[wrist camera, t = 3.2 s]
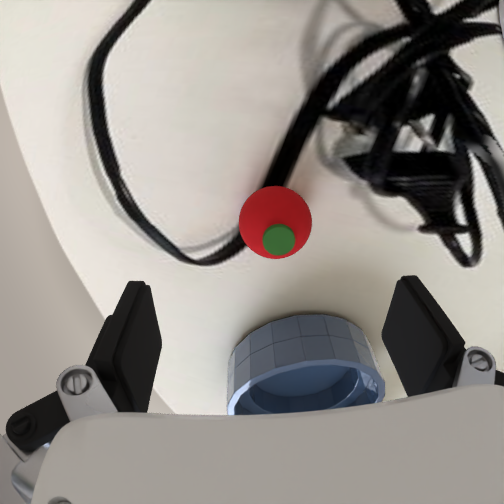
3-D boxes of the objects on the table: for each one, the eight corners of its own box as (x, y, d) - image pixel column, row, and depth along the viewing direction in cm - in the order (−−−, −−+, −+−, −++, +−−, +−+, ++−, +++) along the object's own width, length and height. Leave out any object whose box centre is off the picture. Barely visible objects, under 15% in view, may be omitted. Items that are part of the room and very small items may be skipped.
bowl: (225, 310, 23) (222, 362, 19) (383, 306, 23) (406, 351, 19) (232, 403, 29) (230, 446, 25) (351, 397, 29) (362, 437, 25)
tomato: (239, 177, 18) (237, 203, 15) (307, 177, 18) (323, 203, 15) (239, 238, 20) (238, 276, 17) (302, 238, 20) (315, 275, 17)
